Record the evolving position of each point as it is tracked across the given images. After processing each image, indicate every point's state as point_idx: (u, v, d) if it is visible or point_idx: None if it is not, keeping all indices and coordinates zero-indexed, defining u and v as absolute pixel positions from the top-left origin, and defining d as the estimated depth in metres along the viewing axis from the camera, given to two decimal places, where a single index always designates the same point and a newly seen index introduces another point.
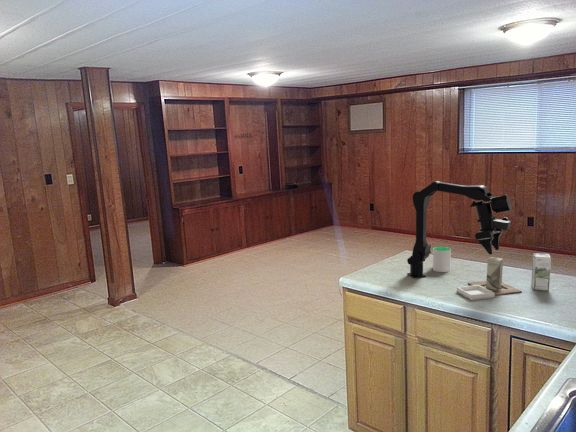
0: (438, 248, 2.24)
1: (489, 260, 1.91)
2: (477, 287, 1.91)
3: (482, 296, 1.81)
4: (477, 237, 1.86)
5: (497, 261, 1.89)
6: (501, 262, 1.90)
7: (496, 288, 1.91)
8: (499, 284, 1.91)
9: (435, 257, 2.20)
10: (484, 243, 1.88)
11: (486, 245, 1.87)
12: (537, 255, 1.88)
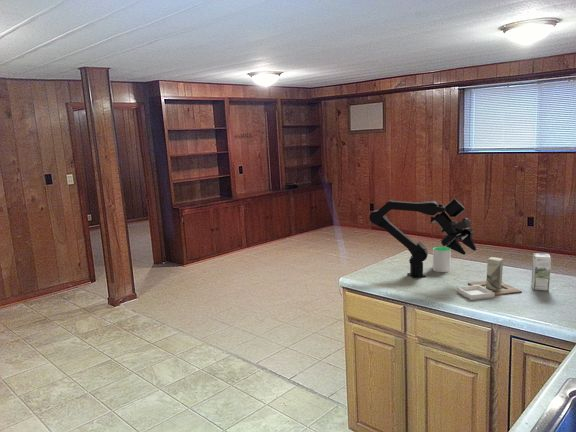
0: (438, 248, 2.24)
1: (489, 260, 1.91)
2: (477, 287, 1.91)
3: (482, 296, 1.81)
4: (443, 243, 1.97)
5: (497, 261, 1.89)
6: (501, 262, 1.90)
7: (496, 288, 1.91)
8: (499, 284, 1.91)
9: (435, 257, 2.20)
10: (454, 247, 1.97)
11: (456, 248, 1.97)
12: (537, 255, 1.88)
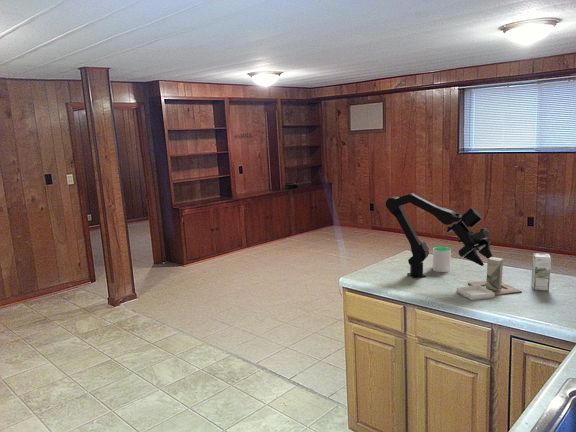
0: (438, 248, 2.24)
1: (489, 260, 1.91)
2: (477, 287, 1.91)
3: (482, 296, 1.81)
4: (461, 254, 1.93)
5: (497, 261, 1.89)
6: (501, 262, 1.90)
7: (496, 288, 1.91)
8: (499, 284, 1.91)
9: (435, 257, 2.20)
10: (471, 257, 1.93)
11: (474, 259, 1.92)
12: (537, 255, 1.88)
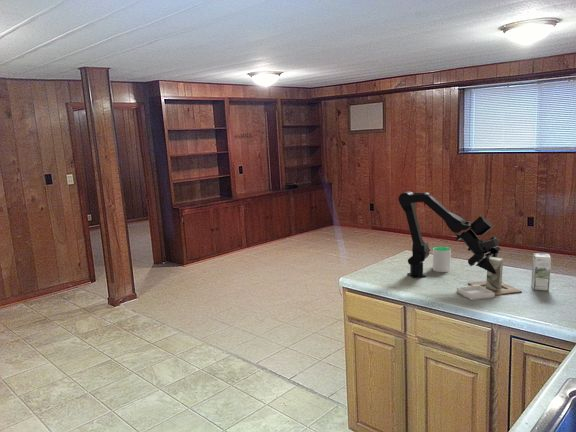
0: (438, 248, 2.24)
1: (489, 260, 1.91)
2: (477, 287, 1.91)
3: (482, 296, 1.81)
4: (470, 263, 1.90)
5: (497, 261, 1.89)
6: (501, 262, 1.90)
7: (496, 288, 1.91)
8: (499, 284, 1.91)
9: (435, 257, 2.20)
10: (484, 265, 1.92)
11: (486, 267, 1.91)
12: (537, 255, 1.88)
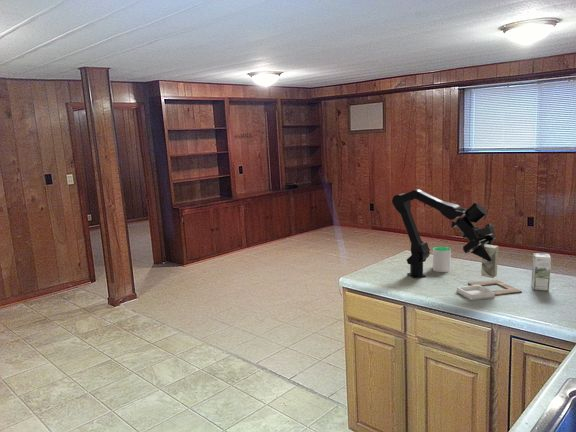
0: (438, 248, 2.24)
1: (484, 248, 1.88)
2: (477, 287, 1.91)
3: (482, 296, 1.81)
4: (465, 250, 1.87)
5: (492, 248, 1.86)
6: (496, 249, 1.87)
7: (491, 276, 1.88)
8: (494, 271, 1.88)
9: (435, 257, 2.20)
10: (479, 253, 1.89)
11: (482, 254, 1.88)
12: (537, 255, 1.88)
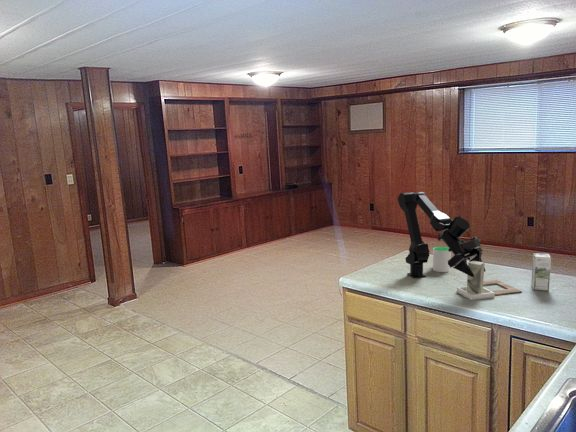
0: (438, 248, 2.24)
1: (469, 264, 1.84)
2: None
3: (482, 296, 1.81)
4: (450, 264, 1.83)
5: (477, 265, 1.82)
6: (482, 266, 1.83)
7: (476, 293, 1.84)
8: (480, 288, 1.84)
9: (435, 257, 2.20)
10: (461, 268, 1.83)
11: (464, 269, 1.82)
12: (537, 255, 1.88)
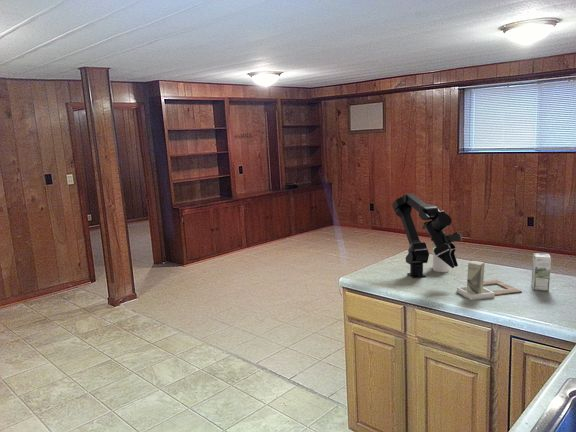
0: None
1: (469, 264, 1.84)
2: None
3: (482, 296, 1.81)
4: (436, 252, 1.87)
5: (477, 265, 1.82)
6: (482, 266, 1.83)
7: (476, 293, 1.84)
8: (480, 288, 1.84)
9: (435, 257, 2.20)
10: (444, 258, 1.89)
11: (447, 259, 1.88)
12: (537, 255, 1.88)
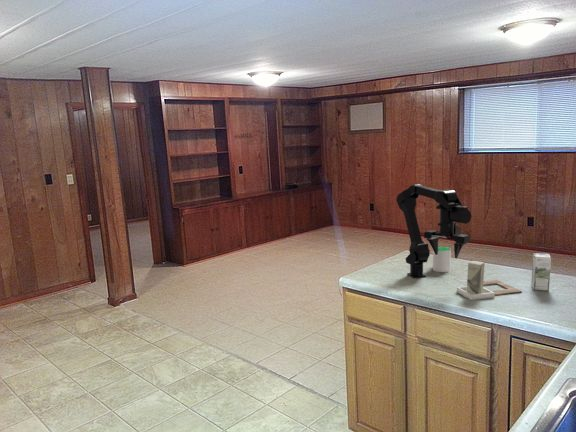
0: (438, 248, 2.24)
1: (469, 264, 1.84)
2: None
3: (482, 296, 1.81)
4: (464, 241, 1.87)
5: (477, 265, 1.82)
6: (482, 266, 1.83)
7: (476, 293, 1.84)
8: (480, 288, 1.84)
9: (435, 257, 2.20)
10: (458, 247, 1.91)
11: (458, 249, 1.92)
12: (537, 255, 1.88)
